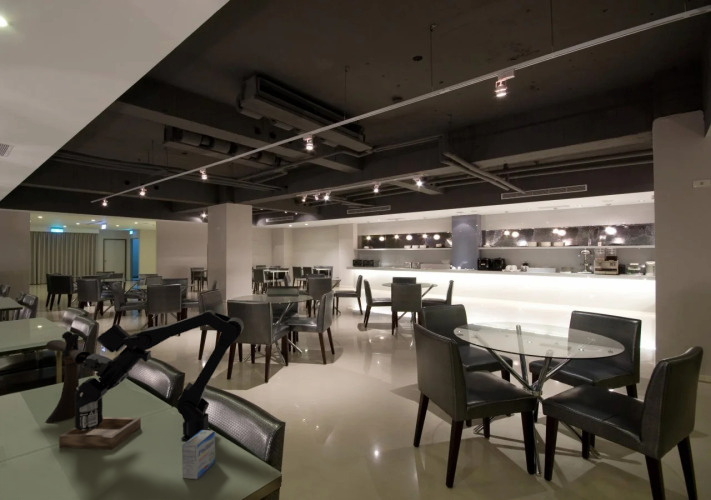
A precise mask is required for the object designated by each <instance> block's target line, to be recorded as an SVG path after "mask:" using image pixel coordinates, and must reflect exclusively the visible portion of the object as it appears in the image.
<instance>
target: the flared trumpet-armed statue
mask: <svg viewBox="0 0 711 500" xmlns="http://www.w3.org/2000/svg"><path fill="white" fill-rule="evenodd" d="M61 338H62V339H63V340H64V341H63V340H60V339H54V340H53V339H52V340H50V341H48V342H47V343H46V344H45V348H46V350H48V351H51V352H62V358H63V360H64V361H63V362H64V363H63V364H64V378H63V379H64V380H63V385H62V388H61V389H62V390H61V394H60V395H61V396H60V398H59V401H58V403H57V404H56V407H55V408H54V410H53V411H52V412H51V414H50V415H49V416H48V418H47V419H46V420H45V423H48V424H50V423H58V422H62V421H65V420H70V419H73V418H75V392H76V391H77V387H78V386H80V380H79V379H80V378H79V365H83V364H82V362H83V361H85V360H86V358H87V357H88V356H90V355H91V353H90V351H88V350H80V348H79V339H80V333H73V332H72V331H68V330H67V331H65V332H64V333H62V335H61Z"/></svg>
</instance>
